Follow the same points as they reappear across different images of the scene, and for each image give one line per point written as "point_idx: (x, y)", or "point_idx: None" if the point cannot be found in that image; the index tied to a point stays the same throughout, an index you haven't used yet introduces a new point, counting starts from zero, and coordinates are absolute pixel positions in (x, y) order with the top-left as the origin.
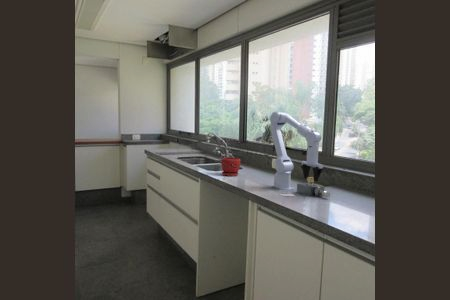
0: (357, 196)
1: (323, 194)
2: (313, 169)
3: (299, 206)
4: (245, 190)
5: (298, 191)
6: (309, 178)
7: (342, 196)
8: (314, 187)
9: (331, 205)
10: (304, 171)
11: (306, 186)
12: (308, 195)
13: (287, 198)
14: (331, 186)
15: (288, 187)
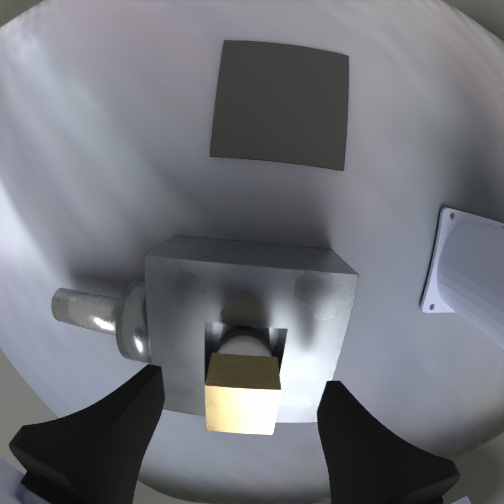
0: None
1: (81, 292)
2: (56, 447)
3: (57, 34)
4: (467, 17)
5: (314, 251)
6: (230, 381)
7: None
8: (148, 313)
9: (7, 209)
10: (360, 442)
11: (196, 261)
12: (179, 237)
13: (208, 43)
14: (326, 490)
15: (440, 275)
